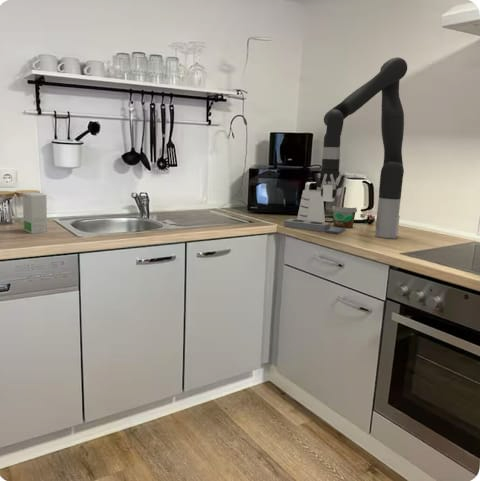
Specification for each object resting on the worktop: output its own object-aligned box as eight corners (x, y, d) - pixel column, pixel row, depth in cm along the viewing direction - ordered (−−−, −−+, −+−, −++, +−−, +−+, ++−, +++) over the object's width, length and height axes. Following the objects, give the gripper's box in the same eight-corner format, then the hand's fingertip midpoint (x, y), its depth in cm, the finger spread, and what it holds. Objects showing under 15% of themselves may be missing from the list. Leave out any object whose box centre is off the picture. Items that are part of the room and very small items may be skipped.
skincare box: (23, 230, 185) (21, 192, 182) (39, 228, 190) (37, 192, 187) (32, 234, 180) (30, 194, 176) (48, 232, 184) (46, 194, 181)
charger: (334, 200, 199) (335, 184, 198) (331, 201, 196) (332, 185, 194) (325, 200, 201) (326, 183, 200) (322, 201, 198) (323, 184, 196)
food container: (327, 226, 222) (329, 206, 220) (331, 224, 227) (332, 205, 225) (352, 229, 216) (354, 208, 214) (355, 227, 222) (357, 207, 220)
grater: (297, 219, 241) (299, 181, 236) (313, 218, 245) (316, 181, 241) (307, 222, 231) (310, 183, 227) (324, 221, 236) (327, 183, 232)
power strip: (329, 229, 215) (330, 222, 214) (324, 232, 207) (324, 224, 206) (290, 224, 224) (291, 217, 223) (283, 226, 216) (284, 220, 215)
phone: (345, 230, 213) (345, 228, 213) (338, 234, 203) (338, 232, 202) (332, 228, 216) (333, 226, 216) (325, 232, 205) (325, 230, 205)
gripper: (349, 158, 195) (346, 198, 198) (317, 157, 201) (315, 195, 205) (345, 158, 188) (342, 199, 192) (312, 157, 195) (310, 197, 198)
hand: (328, 197), depth 198 cm, fingers closed on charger, 4 cm apart
